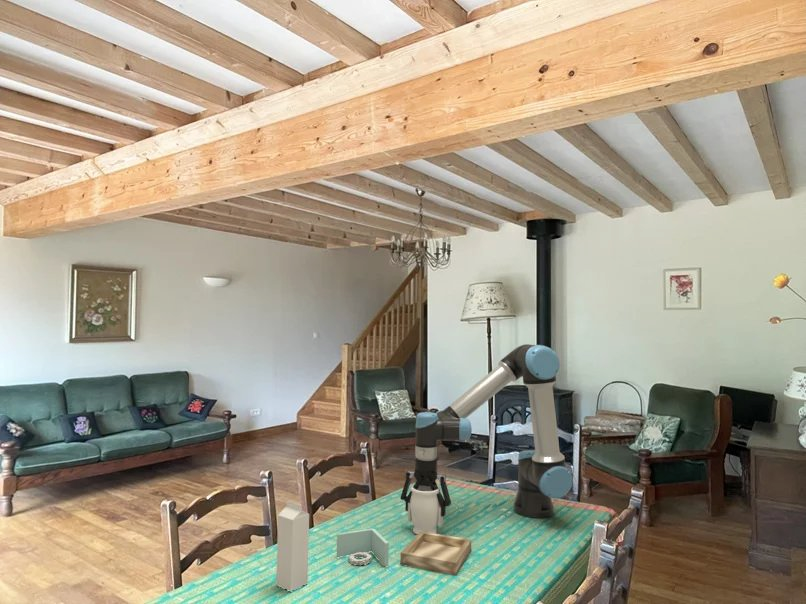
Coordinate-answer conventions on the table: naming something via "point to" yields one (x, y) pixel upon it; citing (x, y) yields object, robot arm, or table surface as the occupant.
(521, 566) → the table surface
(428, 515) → the jar
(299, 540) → the milk
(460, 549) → the wooden tray
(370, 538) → the l-shaped corner panel
